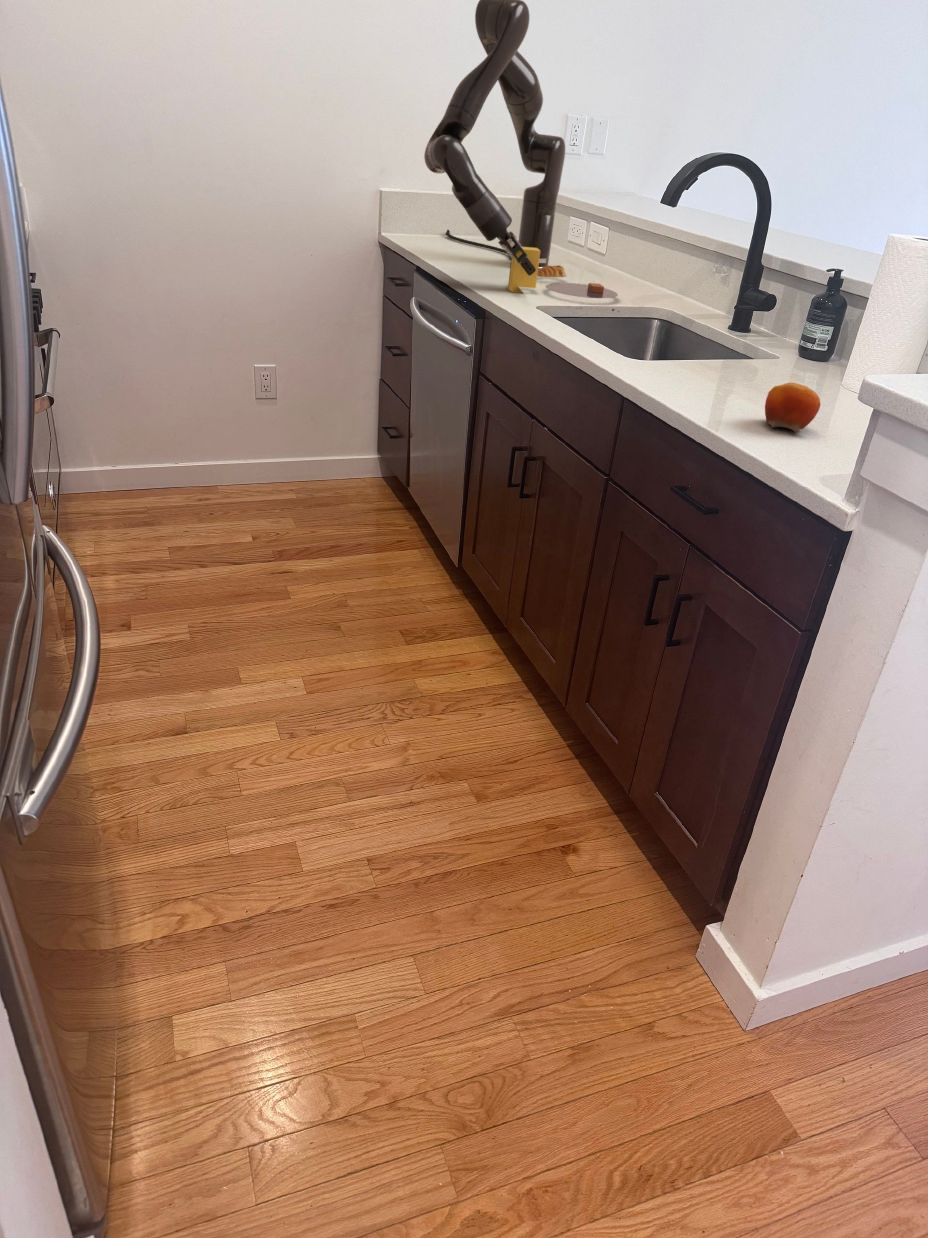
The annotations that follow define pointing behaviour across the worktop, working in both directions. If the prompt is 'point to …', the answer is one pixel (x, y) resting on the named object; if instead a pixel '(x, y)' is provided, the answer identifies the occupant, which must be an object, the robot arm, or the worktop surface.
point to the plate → (579, 290)
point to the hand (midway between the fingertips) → (529, 269)
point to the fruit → (791, 406)
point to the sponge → (523, 271)
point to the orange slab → (595, 288)
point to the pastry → (551, 271)
